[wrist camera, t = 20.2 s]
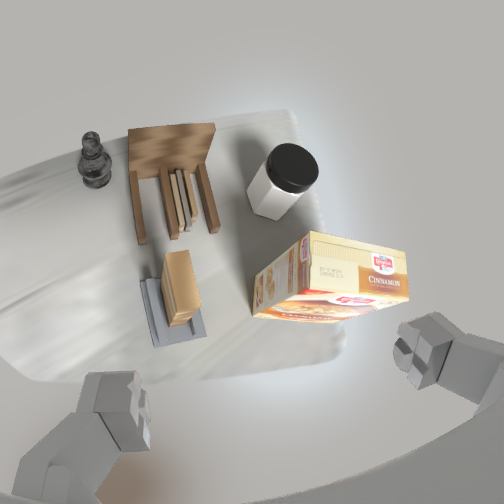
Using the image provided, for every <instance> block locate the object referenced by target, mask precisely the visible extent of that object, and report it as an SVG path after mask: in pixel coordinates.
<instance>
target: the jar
mask: <svg viewBox="0 0 504 504" xmlns="http://www.w3.org/2000/svg"><path fill="white" fill-rule="evenodd" d="M318 171H319V170H318V165H317V163H316V161H315V159H314V157H313V156H312V155H311V154H310V153H309V152H308V151H307V150H306V149H304V148H302V147H301V146H298V145H295V144H291V143H285V144H280V145H278V146H277V147H275V148H274V149H273V151H272V152H271V153H270V155H269V157H268V159H267V160H266V161H265V162H263V163H262V165H261V167H260V168H259V170H258V172H257V174H256V175H255V177H254V179H253V180H252V182H251V184H250V185H249V187H248V189H247V190H246V192H247V195H248V198H249V201H250V204H251V207H252V210H253V212H254V213H255V214H258V215H261V216H264V217H267V218H270V219H273V220H276V221H278V220H279V219H280V218H281V217H282V216H283V215H284V214H285V213H286V212H287V211H288V210H289V209H290V208H291V207H292V206H293V205H294V204H295V203H296V202H297V201H298V199H299V198H300V197H301V196H302V195H303V194H304V193H305V192H306V191H307V190H308V189H309V188H310V186H311V185H312V184H313V183H314V182H315V181H316V179H317V177H318V173H319V172H318Z"/></svg>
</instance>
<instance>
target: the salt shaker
mask: <svg viewBox="0 0 504 504" xmlns="http://www.w3.org/2000/svg"><path fill="white" fill-rule="evenodd" d="M82 145H83V149H82V156H83V157H82V158H81V160H80V161H79V164H78V170H79V173H80V174H81V176H83V182H84V184H85V185H86V186H87V187H89V188H91V189H99V188H102V187H104V186H105V185H107V184H108V182H109V181H110V179H111V170H110V169H111V165H112V160H111V158H110V156H109V155H108V154H107V153H106V152H103V146H102V145H101V144H100V138H99V135H98V134H97V133H96V132H92V131H91V132H88V133H86V134H85V135H84V136H83V138H82Z"/></svg>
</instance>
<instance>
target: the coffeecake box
mask: <svg viewBox="0 0 504 504" xmlns="http://www.w3.org/2000/svg"><path fill="white" fill-rule="evenodd" d="M405 301H409V291H408V280H407V267H406V257H405V252H404V251H399V250H396V249H391V248H387V247H383V246H378V245H374V244H370V243H365V242H361V241H356V240H352V239H347V238H343V237H338V236H334V235H329V234H325V233H320V232H315V231H309V232H308V233H307V234H306V235H304V236H303V237H302V238H301V239H300V240H298V241H297V242H296V243H295V244H294V245H292V246H291V247H290V248H289V249H288V250H286V251H285V252H284V253H283V254H282V255H280V256H279V257H278V258H277V259H275V260H274V261H273V262H272V263H271V264H269V265H268V266H267V267H266V268H265V269H263V270H262V271H261V272H260V273H258V274H257V275H256V276H255V284H254V299H253V313H252V316H253V317H261V318H270V319H281V320H292V321H304V322H318V323H334V322H338V321H341V320H345V319H348V318H352V317H355V316H359V315H362V314H365V313H369V312H372V311H376V310H379V309H382V308H386V307H389V306H392V305H395V304H398V303H401V302H405Z"/></svg>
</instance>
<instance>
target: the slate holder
mask: <svg viewBox="0 0 504 504" xmlns="http://www.w3.org/2000/svg"><path fill="white" fill-rule="evenodd" d="M140 284H141V289H142V294H143V299H144V303H145V308H146V313H147V317H148V322H149V326H150V331H151V335H152V339H153V343H154V347H155V348H156V347H161V346H166V345H170V344H175V343H180V342H184V341H189V340H193V339H198V338H202V337H206V336H207V335H206V331H205V327H204V324H203V320H202V316H201V312H200V308H199V309H198V310H197V311H196V313H195V314H194V315H193V316H192V317H191V318H190V319H189V320H188V322H187V323H186V324H184V325H179V326H175V327H170V328H169V327H168V322H167V318H166V314H165V309H164V305H163V300H162V296H161V291H160V285H161V278H160V279H154V278H150V279H146V281H143V282H140Z"/></svg>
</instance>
